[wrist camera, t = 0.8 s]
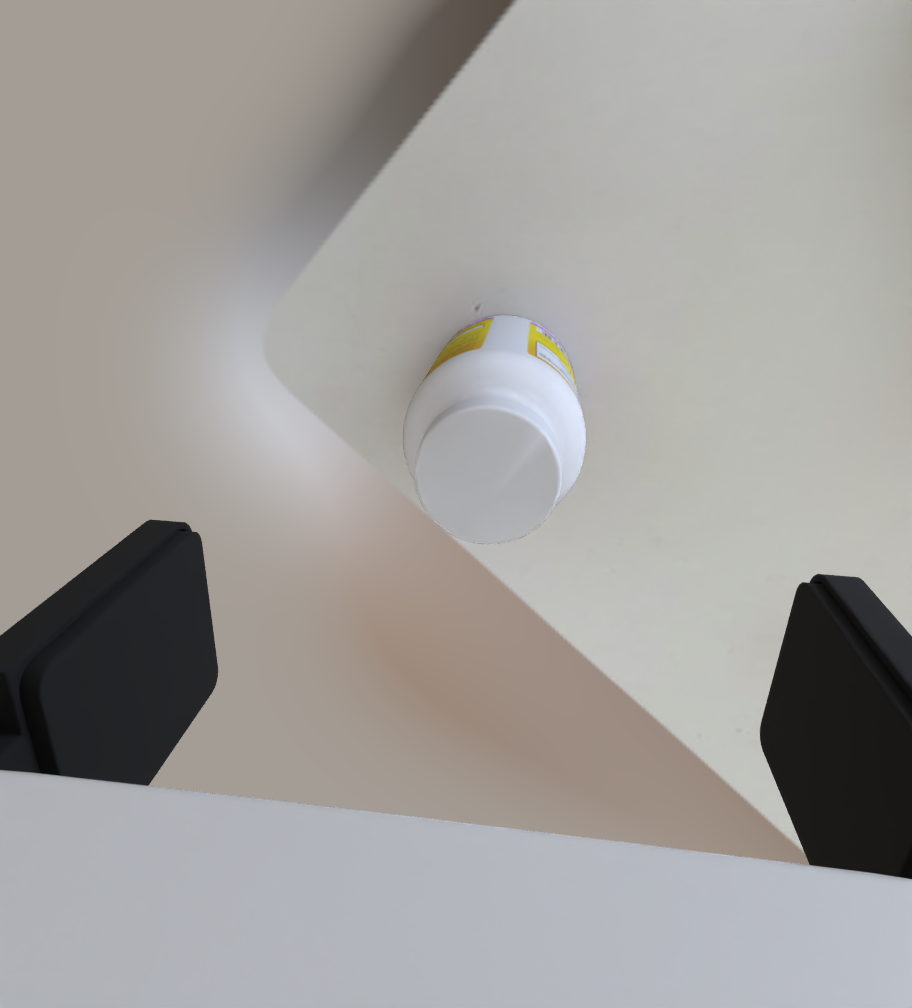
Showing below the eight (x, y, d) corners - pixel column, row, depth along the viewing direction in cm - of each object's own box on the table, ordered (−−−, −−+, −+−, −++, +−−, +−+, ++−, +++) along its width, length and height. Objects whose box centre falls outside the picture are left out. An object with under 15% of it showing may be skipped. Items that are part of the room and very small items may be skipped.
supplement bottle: (426, 434, 34) (367, 549, 23) (448, 300, 32) (394, 352, 20) (557, 460, 34) (565, 590, 23) (589, 328, 32) (618, 396, 20)
